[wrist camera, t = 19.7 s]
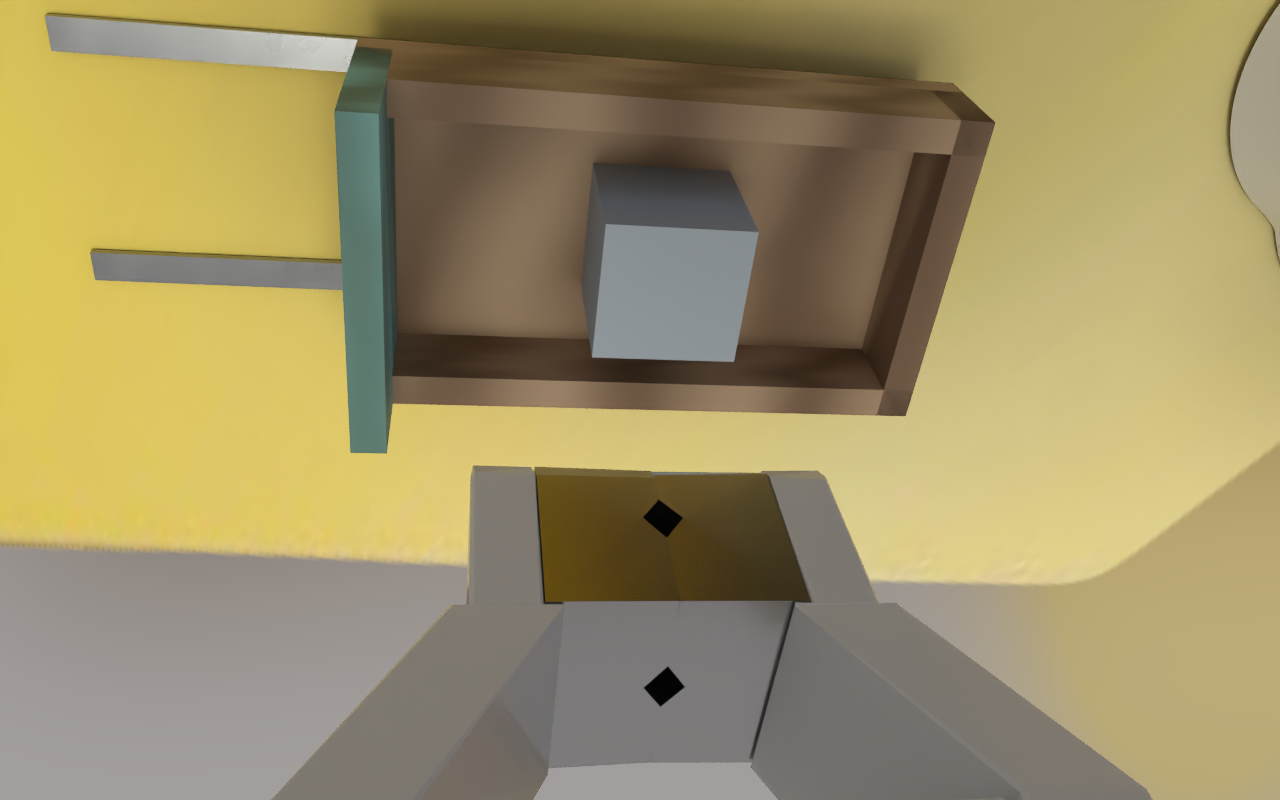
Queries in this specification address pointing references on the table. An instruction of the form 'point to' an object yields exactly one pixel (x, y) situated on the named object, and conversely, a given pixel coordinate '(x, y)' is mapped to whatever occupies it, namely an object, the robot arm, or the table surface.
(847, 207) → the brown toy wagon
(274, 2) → the table surface
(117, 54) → the rails
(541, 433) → the table surface
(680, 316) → the block
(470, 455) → the table surface
